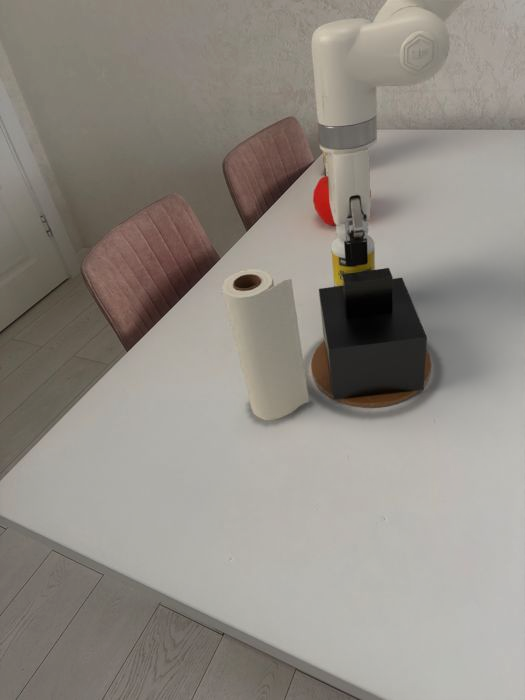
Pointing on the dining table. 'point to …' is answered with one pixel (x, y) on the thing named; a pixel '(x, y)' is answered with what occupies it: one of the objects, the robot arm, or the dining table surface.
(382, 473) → the dining table surface
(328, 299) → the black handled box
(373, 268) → the pill bottle
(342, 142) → the robot arm
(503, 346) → the dining table surface
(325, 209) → the tomato
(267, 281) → the paper towel roll
